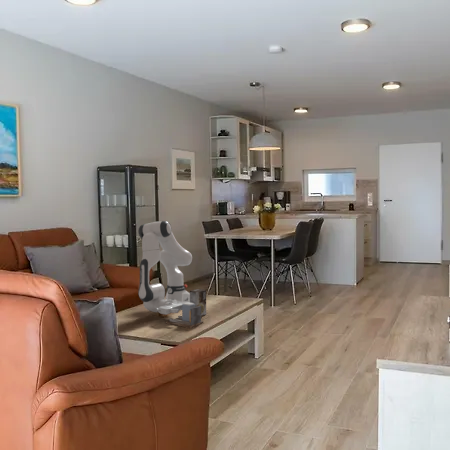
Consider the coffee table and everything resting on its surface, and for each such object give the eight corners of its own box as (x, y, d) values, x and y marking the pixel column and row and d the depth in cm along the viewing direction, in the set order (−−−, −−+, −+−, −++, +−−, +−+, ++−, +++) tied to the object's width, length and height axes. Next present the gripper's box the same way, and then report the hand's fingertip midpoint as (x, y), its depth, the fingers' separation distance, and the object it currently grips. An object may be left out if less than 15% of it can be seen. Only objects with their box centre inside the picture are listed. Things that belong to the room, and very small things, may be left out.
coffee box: (199, 312, 336) (200, 288, 335) (206, 314, 332) (206, 289, 330) (189, 315, 330) (189, 290, 329) (196, 317, 325) (196, 291, 324)
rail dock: (180, 318, 321) (180, 301, 320) (203, 322, 311) (203, 305, 310) (165, 323, 309) (165, 305, 309) (189, 328, 299) (189, 309, 298)
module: (187, 320, 312) (187, 301, 311) (195, 322, 309) (195, 303, 308) (182, 322, 308) (182, 303, 307) (190, 323, 304) (190, 304, 304)
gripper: (154, 304, 310) (171, 308, 302) (176, 298, 326) (193, 301, 319) (154, 315, 310) (171, 318, 302) (176, 308, 327) (193, 311, 319)
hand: (182, 309), depth 311 cm, fingers open, 8 cm apart
